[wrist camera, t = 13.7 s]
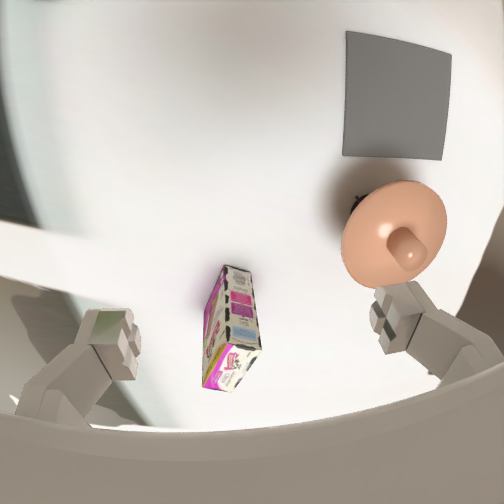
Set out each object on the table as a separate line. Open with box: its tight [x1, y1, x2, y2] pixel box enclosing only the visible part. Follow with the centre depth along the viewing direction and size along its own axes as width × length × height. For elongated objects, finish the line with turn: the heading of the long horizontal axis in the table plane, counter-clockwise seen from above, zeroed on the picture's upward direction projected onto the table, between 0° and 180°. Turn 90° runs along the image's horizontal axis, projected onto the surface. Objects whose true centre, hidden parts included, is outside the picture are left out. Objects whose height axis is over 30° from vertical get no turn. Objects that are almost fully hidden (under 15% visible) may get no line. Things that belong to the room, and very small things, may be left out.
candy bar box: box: [202, 265, 262, 392], centre depth 47 cm, size 11×5×16 cm, turn 157°
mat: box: [342, 31, 452, 161], centre depth 38 cm, size 18×18×1 cm
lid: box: [341, 180, 447, 289], centre depth 37 cm, size 16×16×5 cm
